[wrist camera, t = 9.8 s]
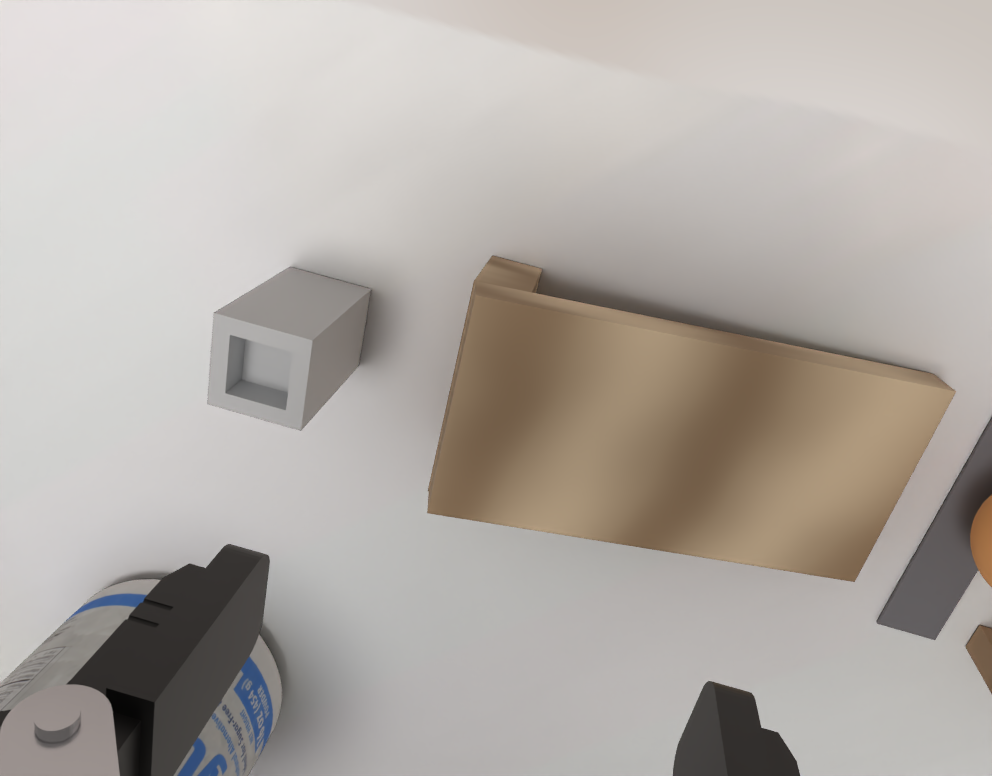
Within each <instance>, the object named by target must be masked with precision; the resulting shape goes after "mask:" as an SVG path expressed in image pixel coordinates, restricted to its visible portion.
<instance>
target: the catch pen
mask: <svg viewBox="0 0 992 776" xmlns="http://www.w3.org/2000/svg"><path fill="white" fill-rule="evenodd" d="M966 649H967V651H968V652H969V654H970V656H971V658H972V659H973V661H974V663H975V665H976V667H977V668H978V670H979V672H980V674H981V676H982V677H983V679H984V681H985V683H986V684H987V686H988V688H989V690H990V692H991V693H992V629H991V628H988V627H984V626H981V625H979V627H978V628H977V630H976V631H975V633H974V634H973V636H972V638H971V639H970V641H969V642H968V644H967V645H966Z"/></svg>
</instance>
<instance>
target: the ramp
mask: <svg viewBox="0 0 992 776" xmlns="http://www.w3.org/2000/svg"><path fill="white" fill-rule="evenodd" d="M541 271H542V269H541V268H537V267H533V266H529V265H526V264H522V263H518V262H514V261H511V260H507V259H503V258H499V257H496V256H492V257H491V258H490V260H489V261H488V262H487V264H486V265H485V267H484V268H483V269H482V271H481V272H480V273H479V275H478V276H477V278H476V279H475V280H474V283H473V288H472V292H471V297H470V302H469V306H468V311H467V315H466V320H465V324H464V329H463V333H462V338H461V342H460V347H459V352H458V356H457V361H456V365H455V370H454V374H453V379H452V383H451V388H450V392H449V397H448V401H447V406H446V411H445V415H444V420H443V424H442V429H441V433H440V438H439V442H438V447H437V451H436V456H435V461H434V465H433V470H432V474H431V479H430V483H429V488H428V491H429V496H428V511H427V513H430V514H436V515H443V516H449V517H455V518H461V519H467V520H474V521H480V522H486V523H492V524H498V525H505V526H511V527H517V528H523V529H529V530H536V531H542V532H548V533H554V534H561V535H567V536H573V537H579V538H585V539H592V540H598V541H604V542H610V543H616V544H623V545H629V546H635V547H641V548H647V549H654V550H660V551H666V552H672V553H679V554H685V555H691V556H697V557H703V558H710V559H716V560H722V561H728V562H734V563H741V564H747V565H753V566H759V567H765V568H772V569H778V570H784V571H790V572H797V573H803V574H809V575H815V576H821V577H828V578H834V579H840V580H846V581H852V582H855V580H856V578H857V576H858V574H859V572H860V571H861V569H862V567H863V565H864V563H865V561H866V559H867V557H868V556H869V554H870V552H871V550H872V548H873V546H874V544H875V542H876V541H877V539H878V537H879V535H880V533H881V531H882V529H883V527H884V526H885V524H886V522H887V520H888V518H889V516H890V514H891V512H892V511H893V509H894V507H895V505H896V503H897V501H898V499H899V497H900V496H901V494H902V492H903V490H904V488H905V486H906V484H907V482H908V481H909V479H910V477H911V475H912V473H913V471H914V469H915V468H916V466H917V464H918V462H919V460H920V458H921V456H922V454H923V453H924V451H925V449H926V447H927V445H928V443H929V441H930V439H931V438H932V436H933V434H934V432H935V430H936V428H937V426H938V424H939V423H940V421H941V419H942V417H943V415H944V413H945V411H946V409H947V408H948V406H949V404H950V402H951V400H952V398H953V396H954V394H955V393H956V391H955V390H954V389H952V388H951V387H950V386H948V385H947V384H946V383H944V382H943V381H942V380H940V379H939V378H938V377H937V376H935V375H934V374H932V373H927V372H922V371H917V370H912V369H907V368H902V367H897V366H892V365H887V364H882V363H877V362H872V361H867V360H862V359H858V358H853V357H848V356H843V355H838V354H833V353H828V352H823V351H818V350H813V349H808V348H803V347H798V346H793V345H788V344H784V343H779V342H774V341H769V340H764V339H759V338H754V337H749V336H744V335H739V334H734V333H729V332H724V331H719V330H714V329H709V328H705V327H700V326H695V325H690V324H685V323H680V322H675V321H670V320H665V319H660V318H655V317H650V316H645V315H640V314H635V313H631V312H626V311H621V310H616V309H611V308H606V307H601V306H596V305H591V304H586V303H581V302H576V301H571V300H566V299H561V298H556V297H552V296H547V295H542V294H537V293H536V291H537V287H538V283H539V279H540V275H541Z"/></svg>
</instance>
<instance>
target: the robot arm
mask: <svg viewBox="0 0 992 776" xmlns="http://www.w3.org/2000/svg"><path fill="white" fill-rule="evenodd" d="M269 563H270V560H269V556H268V555H266V554H263V553H259V552H256V551H252V550H249V549H245V548H242V547H238V546H235V545H231V544H228V545H226V546H224V547H223V548H222V550H221V551H220V552H219V553H218V554H217V555H216V557H215V558H214V559H213V560H212V561H211V563H210V564H209V565H208V566H207V567H206V568H203V567H199V566H196V565H192V564H188V565H186V566H184V567H182V568H180V569H179V570H177V571H175V572H173V573H171V574H169V575H167V576H166V577H164V578H162V579H161V580H160V581H159V583H158V584H157V585H156V586H155V587H154V588H153V589H152V590H151V591H150V593H149V594H148V595H147V596H146V597H145V598H144V601H143V603H141V602H140V604H139V605H138V606H137V607H136V608H135V609H134V610H133V611H132V612H131V614H130V615H129V618H128V619H127V620H126V619H125V620H124V621H123V622H122V624H121V625H120V626H119V627H118V628H117V629H116V630H115V631H114V632H113V633H112V635H111V636H110V637H109V638H108V639H107V640H106V641H105V642H104V643H103V645H102V646H101V647H100V648H99V649H98V650H97V651H96V652H95V653H94V654H93V656H92V657H91V658H90V659H89V660H88V661H87V662H86V663H85V664H84V666H83V667H82V668H81V669H80V670H79V671H78V672H77V673H76V674H75V676H74V677H73V678H72V679H71V680H70V681H69V682H68V683H67V684H66V685H59V686H54V687H50V688H46V689H44V690H41V691H38V692H36V693H34V694H32V695H30V696H28V697H27V698H25V699H24V700H22V701H21V702H20V703H18V704H17V705H16V706H15V707H14V708H13V709H12V710H5V711H0V776H174V774H175V773H176V771H177V769H178V768H179V766H180V765H181V763H182V762H183V760H184V758H185V757H186V755H187V754H188V752H189V751H190V749H191V747H192V746H193V744H194V743H195V741H196V739H197V738H198V736H199V735H200V733H201V732H202V730H203V728H204V727H205V725H206V724H207V722H208V721H209V719H210V717H211V716H212V714H213V713H214V711H215V710H216V708H217V706H218V705H219V703H220V702H221V700H222V699H223V697H224V695H225V694H226V692H227V691H228V689H229V688H230V686H231V684H232V683H233V681H234V680H235V678H236V676H237V675H238V673H239V672H240V670H241V669H242V667H243V665H244V664H245V662H246V661H247V659H248V658H249V656H250V654H251V652H252V650H253V648H254V646H255V644H256V641H257V639H258V636H259V633H260V630H261V626H262V621H263V614H264V605H265V597H266V589H267V581H268V572H269ZM673 776H800V773H799V769H798V765H797V761H796V760H795V758H794V757H793V755H792V753H791V752H790V750H789V749H788V747H787V746H786V744H785V743H784V741H783V739H782V738H781V736H780V735H779V733H778V732H774V731H771V730H767V729H764V728H761V725H760V720H759V715H758V710H757V706H756V701H755V698H754V696H753V694H752V693H750V692H747V691H743V690H740V689H736V688H733V687H729V686H725V685H722V684H718V683H715V682H711V681H708V682H707V683H706V684H705V685H704V687H703V689H702V691H701V693H700V696H699V698H698V700H697V702H696V705H695V707H694V709H693V711H692V714H691V716H690V718H689V720H688V723H687V725H686V727H685V730H684V732H683V734H682V736H681V739H680V741H679V744H678V747H677V751H676V755H675V760H674V768H673Z"/></svg>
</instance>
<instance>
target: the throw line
mask: <svg viewBox="0 0 992 776" xmlns="http://www.w3.org/2000/svg"><path fill="white" fill-rule="evenodd" d="M991 495H992V418H991V420H990V422H989V424H988V425H987V427H986V429H985V431H984V432H983V434H982V436H981V438H980V440H979V441H978V443H977V445H976V447H975V448H974V450H973V452H972V454H971V455H970V457H969V459H968V461H967V463H966V464H965V466H964V468H963V470H962V471H961V473H960V475H959V477H958V478H957V480H956V482H955V484H954V486H953V487H952V489H951V491H950V493H949V494H948V496H947V498H946V500H945V501H944V503H943V505H942V507H941V509H940V510H939V512H938V514H937V516H936V517H935V519H934V521H933V523H932V524H931V526H930V528H929V530H928V532H927V533H926V535H925V537H924V539H923V540H922V542H921V544H920V546H919V547H918V549H917V551H916V553H915V555H914V556H913V558H912V560H911V562H910V563H909V565H908V567H907V569H906V570H905V572H904V574H903V576H902V578H901V579H900V581H899V583H898V585H897V586H896V588H895V590H894V592H893V594H892V595H891V597H890V599H889V601H888V602H887V604H886V606H885V608H884V609H883V611H882V613H881V615H880V617H879V618H878V620H877V624H881V625H884V626H888V627H891V628H895V629H898V630H902V631H905V632H909V633H912V634H916V635H919V636H923V637H926V638H929V639H933V640H935V639H936V638H937V636H938V634H939V633H940V631H941V629H942V628H943V626H944V625H945V623H946V621H947V620H948V618H949V616H950V615H951V613H952V612H953V610H954V608H955V607H956V605H957V603H958V602H959V600H960V599H961V597H962V595H963V594H964V592H965V590H966V589H967V587H968V586H969V584H970V582H971V581H972V579H973V577H974V576H975V574H976V573H977V571H978V568H977V566H976V564H975V561H974V559H973V555H972V551H971V546H970V533H971V527H972V523H973V520H974V517H975V515H976V513H977V511H978V510H979V508H980V507H981V505H982V504H983V503H984V501H985V500H987V499H988V498H989V497H990V496H991Z"/></svg>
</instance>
